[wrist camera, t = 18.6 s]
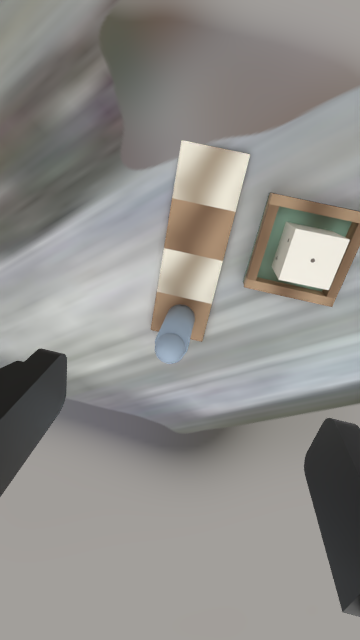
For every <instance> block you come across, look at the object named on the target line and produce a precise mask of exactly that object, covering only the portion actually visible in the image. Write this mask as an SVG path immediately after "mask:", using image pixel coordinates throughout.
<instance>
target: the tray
mask: <svg viewBox="0 0 360 640" xmlns="http://www.w3.org/2000/svg"><path fill="white" fill-rule="evenodd" d="M286 222H290V223H294V224H299V225H304V226H309V227H314V228H319V229H324V230H329V231H333V232H335V233H337V234H339V235H341V236H343V237H346V238H348V239H350V241H349V243H348V246H347V248H346V251H345V253H344V255H343V258H342V260H341V262H340V265H339V267H338V269H337V272H336V274H335V276H334V279H333V281H332V284H331V286H330V288H329V290H325V289H320V288H315V287H311V286H306V285H301V284H297V283H292V282H287V281H282V280H278V278H277V276H276V274H275V272H274V270H273V268H272V267H271V266H272V263H273V260H274V257H275V254H276V251H277V248H278V245H279V241H280V238H281V235H282V232H283V229H284V226H285V223H286ZM359 246H360V212H359V211H355V210H350V209H345V208H340V207H336V206H331V205H326V204H321V203H317V202H312V201H307V200H302V199H298V198H293V197H288V196H284V195H279V194H274V193H269V196H268V200H267V203H266V206H265V210H264V213H263V216H262V220H261V223H260V227H259V230H258V233H257V237H256V240H255V243H254V247H253V250H252V254H251V257H250V260H249V264H248V267H247V270H246V274H245V277H244V281H243V283H244V287H245V288H250V289H254V290H259V291H263V292H267V293H272V294H276V295H281V296H285V297H290V298H294V299H299V300H303V301H308V302H312V303H317V304H321V305H325V306H330V307H332V306H333V304H334V301H335V299H336V297H337V295H338V292H339V290H340V288H341V286H342V284H343V281H344V279H345V277H346V275H347V273H348V270H349V268H350V266H351V264H352V262H353V259H354V257H355V255H356V253H357V251H358V248H359Z"/></svg>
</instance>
